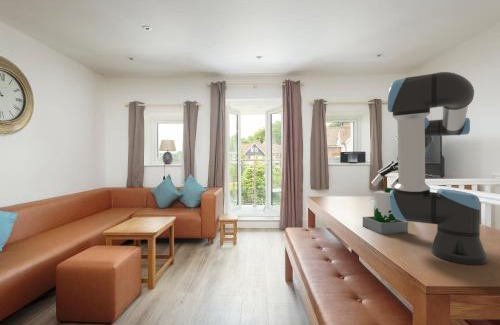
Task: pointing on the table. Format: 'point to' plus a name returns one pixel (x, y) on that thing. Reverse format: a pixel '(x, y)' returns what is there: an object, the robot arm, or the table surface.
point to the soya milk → (383, 206)
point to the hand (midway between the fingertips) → (382, 185)
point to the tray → (385, 226)
